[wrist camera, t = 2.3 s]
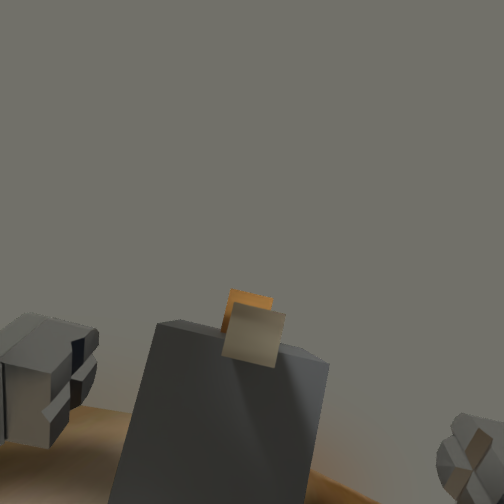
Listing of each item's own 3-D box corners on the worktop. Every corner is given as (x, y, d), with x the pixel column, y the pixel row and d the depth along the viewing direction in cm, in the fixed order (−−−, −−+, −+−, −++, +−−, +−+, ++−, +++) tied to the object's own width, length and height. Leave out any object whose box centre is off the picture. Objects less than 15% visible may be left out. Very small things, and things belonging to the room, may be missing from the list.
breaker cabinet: (255, 758, 24) (329, 364, 28) (50, 712, 24) (157, 323, 28) (248, 604, 36) (300, 347, 40) (114, 573, 36) (181, 319, 40)
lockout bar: (289, 371, 18) (306, 287, 19) (205, 352, 18) (226, 268, 19) (260, 338, 40) (268, 299, 41) (222, 329, 40) (231, 291, 41)
